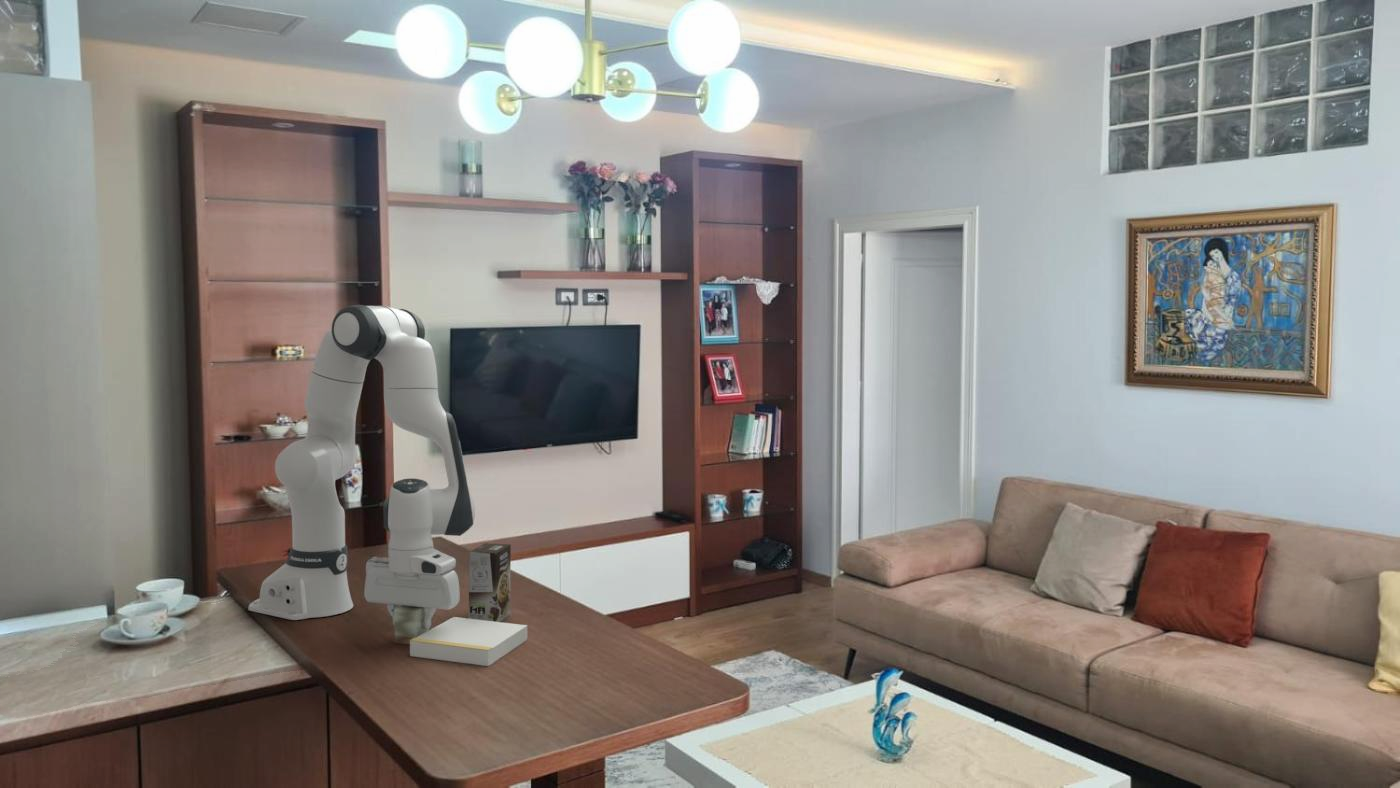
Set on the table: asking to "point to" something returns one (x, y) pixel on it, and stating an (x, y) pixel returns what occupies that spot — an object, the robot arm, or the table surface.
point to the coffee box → (489, 582)
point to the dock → (468, 641)
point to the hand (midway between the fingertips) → (411, 626)
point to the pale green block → (408, 623)
